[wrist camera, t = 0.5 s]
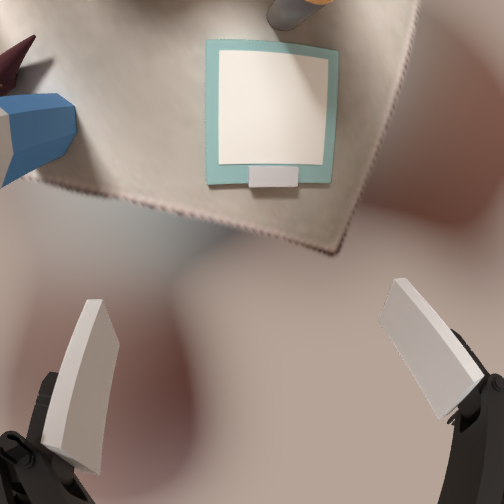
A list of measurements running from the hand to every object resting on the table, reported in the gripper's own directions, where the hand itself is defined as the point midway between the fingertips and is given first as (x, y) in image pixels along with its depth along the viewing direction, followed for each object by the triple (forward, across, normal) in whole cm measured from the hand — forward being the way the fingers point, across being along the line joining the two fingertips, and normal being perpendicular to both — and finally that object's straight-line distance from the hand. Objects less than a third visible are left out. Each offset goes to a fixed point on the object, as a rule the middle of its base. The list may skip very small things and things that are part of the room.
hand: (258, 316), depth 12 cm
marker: (+26, +7, +21) cm, 34 cm away
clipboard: (+26, +6, +8) cm, 27 cm away
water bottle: (+26, -23, +8) cm, 35 cm away
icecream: (+26, -30, +18) cm, 44 cm away
